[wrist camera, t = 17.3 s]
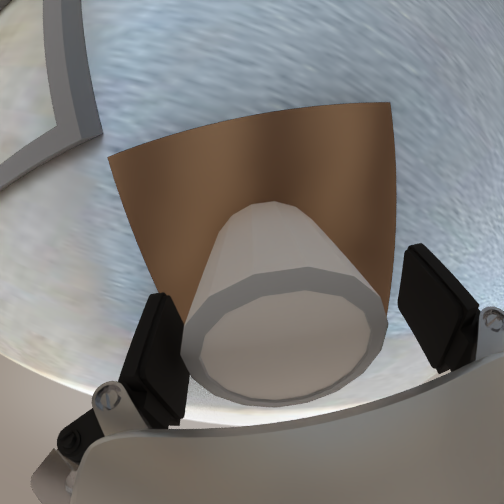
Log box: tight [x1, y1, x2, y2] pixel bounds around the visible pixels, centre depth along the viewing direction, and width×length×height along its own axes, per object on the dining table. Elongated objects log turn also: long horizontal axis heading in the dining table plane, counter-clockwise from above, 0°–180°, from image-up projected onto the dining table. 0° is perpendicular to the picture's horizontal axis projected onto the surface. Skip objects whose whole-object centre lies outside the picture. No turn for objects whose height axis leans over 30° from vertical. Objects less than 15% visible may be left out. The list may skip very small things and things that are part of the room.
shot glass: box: [180, 201, 388, 407], centre depth 11 cm, size 7×7×7 cm
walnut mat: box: [107, 102, 396, 325], centre depth 15 cm, size 14×14×1 cm
